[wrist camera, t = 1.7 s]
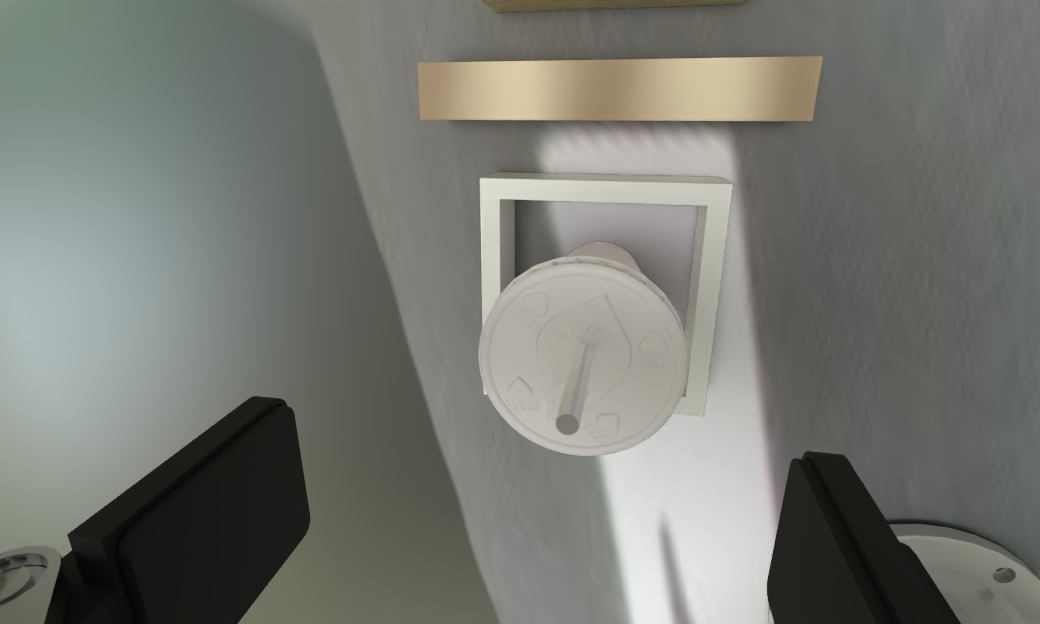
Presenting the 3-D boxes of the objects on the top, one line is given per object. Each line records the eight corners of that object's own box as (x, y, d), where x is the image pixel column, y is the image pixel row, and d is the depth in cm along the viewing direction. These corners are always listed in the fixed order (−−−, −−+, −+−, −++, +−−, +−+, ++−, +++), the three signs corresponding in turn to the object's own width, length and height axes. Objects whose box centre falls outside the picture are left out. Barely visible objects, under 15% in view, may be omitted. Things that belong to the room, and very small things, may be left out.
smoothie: (694, 238, 24) (760, 373, 11) (640, 364, 26) (643, 597, 13) (555, 192, 25) (462, 269, 12) (515, 319, 27) (400, 501, 14)
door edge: (795, 66, 21) (822, 56, 18) (786, 121, 22) (812, 121, 19) (447, 71, 24) (417, 62, 21) (449, 120, 25) (420, 119, 21)
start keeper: (721, 177, 23) (733, 184, 20) (696, 384, 26) (703, 416, 23) (497, 172, 25) (480, 178, 22) (499, 367, 28) (483, 394, 25)
